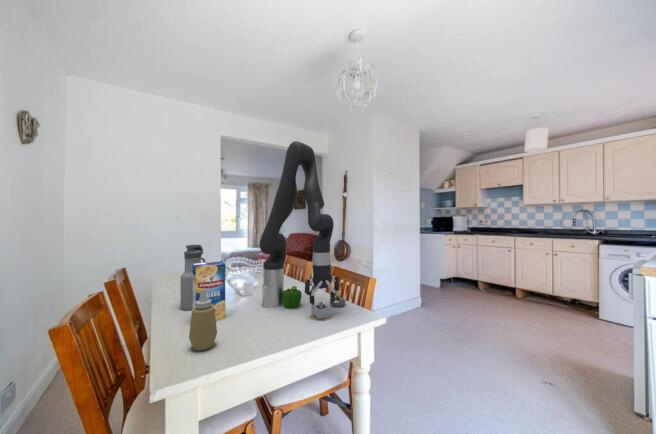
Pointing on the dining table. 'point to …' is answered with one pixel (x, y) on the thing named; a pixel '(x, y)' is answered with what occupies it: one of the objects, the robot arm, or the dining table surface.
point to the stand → (319, 308)
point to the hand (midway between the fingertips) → (322, 303)
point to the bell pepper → (291, 298)
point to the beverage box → (210, 285)
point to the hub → (338, 301)
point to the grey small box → (321, 312)
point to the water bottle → (189, 274)
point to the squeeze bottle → (203, 324)
